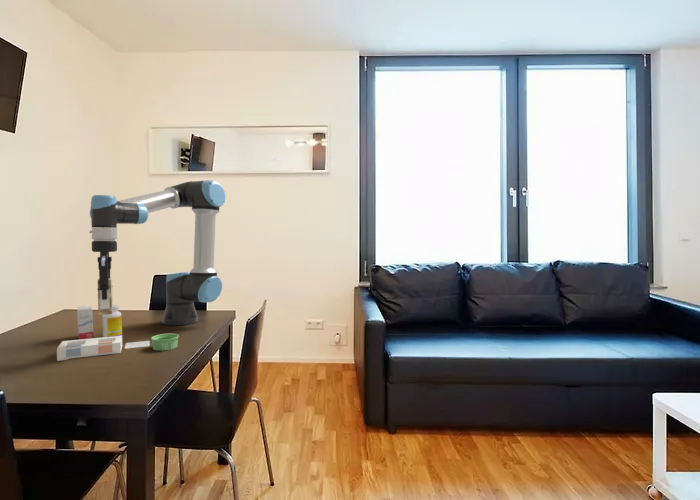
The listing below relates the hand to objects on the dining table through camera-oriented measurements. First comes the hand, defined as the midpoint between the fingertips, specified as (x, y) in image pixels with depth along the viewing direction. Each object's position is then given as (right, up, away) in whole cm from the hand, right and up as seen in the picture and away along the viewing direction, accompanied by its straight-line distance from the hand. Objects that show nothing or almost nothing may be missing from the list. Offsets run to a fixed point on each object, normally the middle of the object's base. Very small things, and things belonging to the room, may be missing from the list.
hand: (105, 307), depth 143 cm
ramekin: (+18, -16, +5) cm, 25 cm away
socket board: (-4, -16, -1) cm, 16 cm away
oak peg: (0, -2, 0) cm, 2 cm away
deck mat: (+7, -15, +9) cm, 19 cm away
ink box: (-20, -15, +20) cm, 31 cm away
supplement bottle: (-8, -15, +18) cm, 25 cm away
